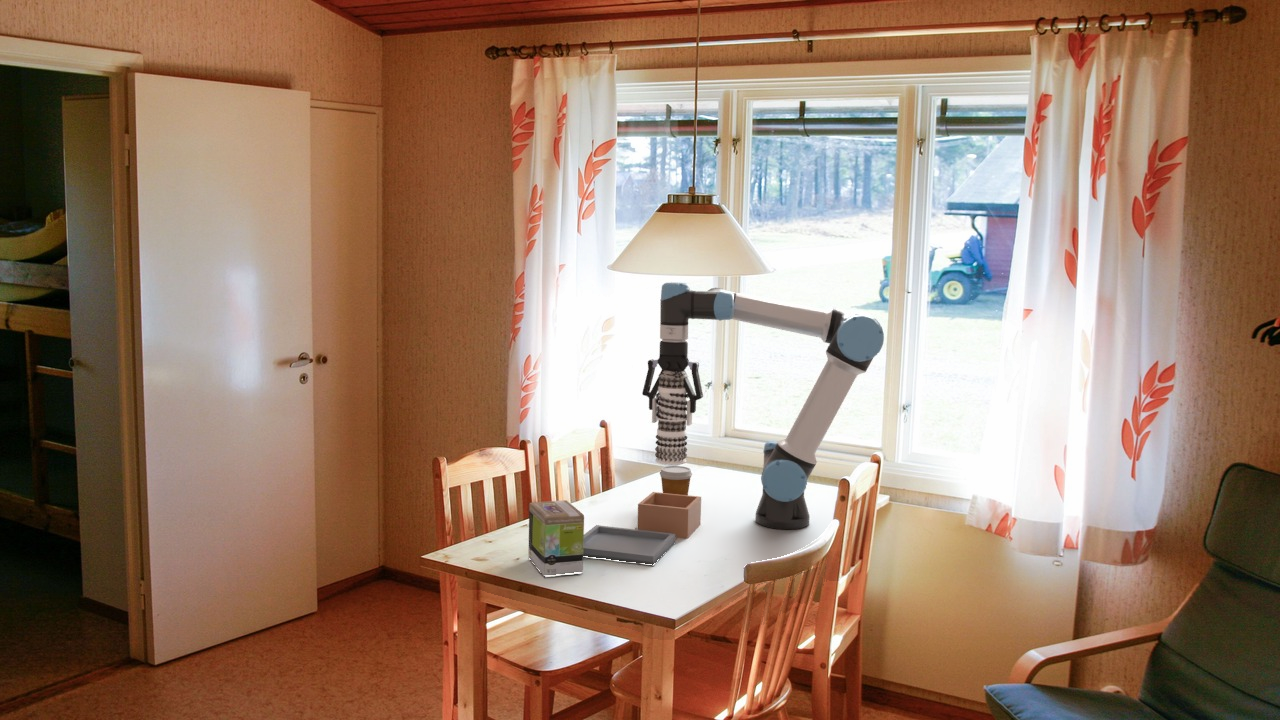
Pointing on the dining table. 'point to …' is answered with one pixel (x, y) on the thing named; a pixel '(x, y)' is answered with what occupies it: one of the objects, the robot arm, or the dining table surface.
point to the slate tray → (626, 544)
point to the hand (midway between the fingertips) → (671, 423)
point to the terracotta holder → (670, 514)
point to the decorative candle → (671, 418)
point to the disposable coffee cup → (675, 479)
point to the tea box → (556, 537)
